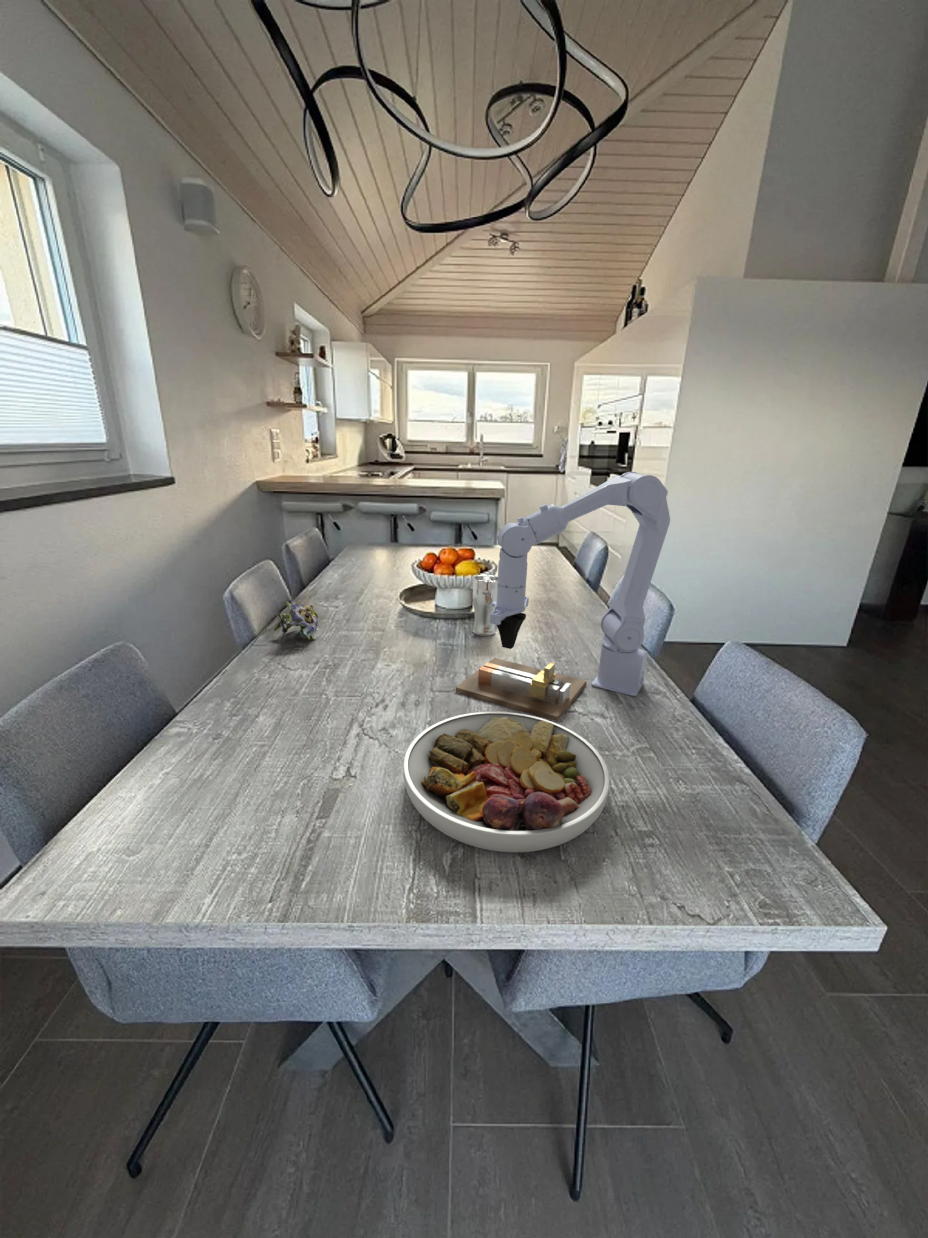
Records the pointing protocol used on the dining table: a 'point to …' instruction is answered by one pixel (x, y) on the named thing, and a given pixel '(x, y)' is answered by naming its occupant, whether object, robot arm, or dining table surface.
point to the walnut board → (519, 701)
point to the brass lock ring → (542, 681)
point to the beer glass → (484, 603)
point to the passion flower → (299, 620)
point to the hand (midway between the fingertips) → (507, 647)
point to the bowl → (505, 781)
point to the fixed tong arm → (521, 685)
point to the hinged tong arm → (522, 674)
